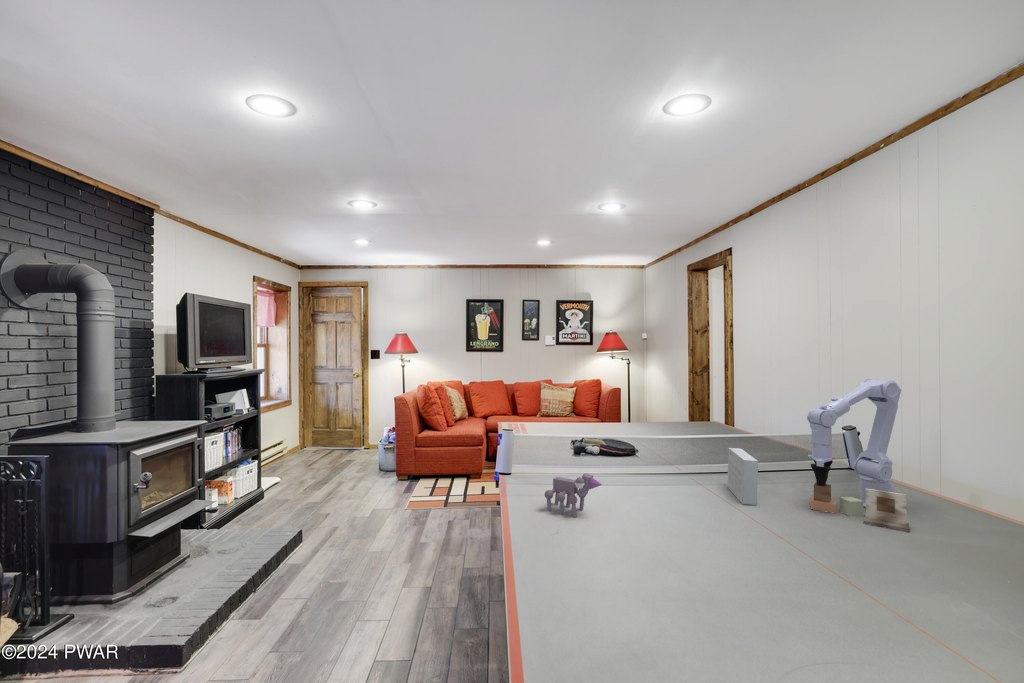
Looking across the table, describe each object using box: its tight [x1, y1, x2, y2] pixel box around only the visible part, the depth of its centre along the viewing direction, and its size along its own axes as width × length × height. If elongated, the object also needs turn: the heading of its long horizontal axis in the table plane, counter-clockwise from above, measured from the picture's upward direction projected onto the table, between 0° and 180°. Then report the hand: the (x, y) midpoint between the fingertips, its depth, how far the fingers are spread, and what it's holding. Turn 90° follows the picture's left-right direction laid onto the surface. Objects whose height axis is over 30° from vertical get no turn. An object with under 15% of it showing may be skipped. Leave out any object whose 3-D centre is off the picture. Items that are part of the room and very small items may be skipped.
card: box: [863, 489, 911, 533], centre depth 144 cm, size 11×6×10 cm, turn 51°
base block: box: [809, 494, 837, 514], centre depth 159 cm, size 7×7×4 cm
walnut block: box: [813, 482, 832, 503], centre depth 159 cm, size 4×4×5 cm
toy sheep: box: [544, 473, 603, 518], centre depth 157 cm, size 20×11×14 cm, turn 56°
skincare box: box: [726, 447, 759, 506], centre depth 173 cm, size 21×6×16 cm, turn 168°
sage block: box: [839, 496, 864, 517], centre depth 154 cm, size 4×4×5 cm
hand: (822, 483), depth 159 cm, fingers open, 7 cm apart
